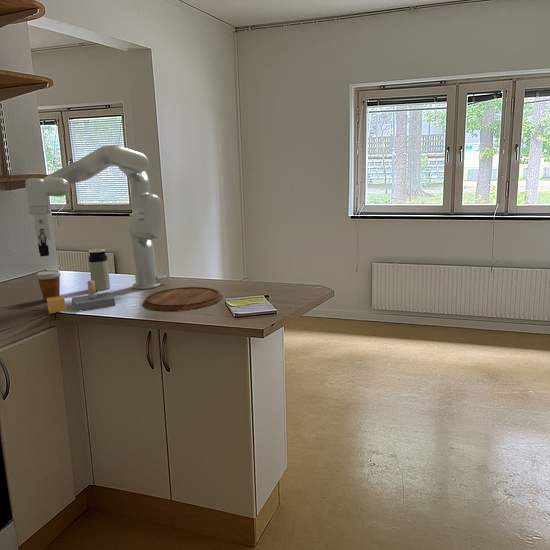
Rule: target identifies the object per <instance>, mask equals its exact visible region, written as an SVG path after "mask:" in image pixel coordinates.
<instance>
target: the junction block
mask: <svg viewBox="0 0 550 550" xmlns="http://www.w3.org/2000/svg"><path fill="white" fill-rule="evenodd" d="M86 282H87V290H88V294H87V295H81V296H74V297H71V305H72V307H73V306H74V307H73V309H74V310H75V312H81V311H80V310H83V311H87V309H89V310H94V308H96V309H100V308H101V309H102V308H107V307H108V308H109V307H115V306H116V299H115V297H114V296H113V295H112V293H110V292H109V291H108V292H103V293H98V292H97V291H96V288H95V281H94V280H91V279H90V280H87V281H86Z"/></svg>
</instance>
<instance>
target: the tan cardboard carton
mask: <svg viewBox="0 0 550 550" xmlns="http://www.w3.org/2000/svg"><path fill="white" fill-rule="evenodd" d="M46 304H47V310H48V313H49V315H50V314H55V313H56V312H58V313H61V312H60V311H64V312H67V309H66V307H67V306H66V301H65V297H64V295H61V296H58V297H51V298H47V301H46ZM56 314H57V313H56Z"/></svg>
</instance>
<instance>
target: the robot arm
mask: <svg viewBox="0 0 550 550" xmlns="http://www.w3.org/2000/svg"><path fill="white" fill-rule="evenodd" d="M149 166H150V162H149V159H148V157H147V156H146V155H145V154H144V153H142V152H139V151H136V150H133V149H130V148H127V147H125V146H120V145H117V144H116V145H115V144H113V145H111V144H110V145H103V146H101V147H98V148H97V149H95V150H93V151H91V152H89V153H88V154H87V155H85V156H83V157H82V158H80V159H78V160H76V161H74V162H71V163H69V164H68V165H64V167H63V166H62V167H61V168H59V169H57V170H56V171H54V172H51V173H50V174H48V175H46V176H45V177H44V178H37V177H36V178H28V179H26V180H25V192H26V200H27V209H28V215H29V216H32V222H33V223H32V224H33V230H34V234H35V238H36V240H37V242H38V243H37V246H38V253H39V256H40V257H48V256H50V250H49V245H48V241H47V240H49V241H50V240H51V233H50V223H49V217H48V215H51V211H50V210H51V209H50V201H49V197H56V198H57V197H58V198H61V197H64V196H66V195H68V193H69V192H70V189H71V187H70V186H71V185H73V184H76V183H81V182H86V181H88V180H89V179H90V180H91V179H92V178H94V177H96V176H97V175H99V174H100V173H102V172H103V171H105V170H107V169H108V168H109V167H118V169H119V170H120V171H121V172H122V173H124V175H126V177H127V179H128V181H129V184H130V185H129V187H130V207H131V210H132V211H131V212H133V213H134V214H136V215H141V216H142V215H143V217H136V218H133V219H132V220H131V221H130V222H129V224H128V227H127V228H128V234H129V238H130V243H131V249H132V258H133V259H132V260H133V268H134V270H133V271H134V281H135V283H133V284H132V288H133V289H138V290H146V289H147V290H148V289H153V288H158V287H159V286H160V285H161V281H166V280H168V276H167V275H157V268H156V257H155V246H154V243H153V241H156V240H158V239H159V238H161V236H162V234H163V233H164V232H163V231H164V206H163V202H162V199H161V198H160V197H159V196H158V195H157V194H154V193H151V186H150V185H151V184H150V178H149V176H148V174H147V170H148V169H149Z"/></svg>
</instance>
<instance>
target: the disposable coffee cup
mask: <svg viewBox="0 0 550 550" xmlns="http://www.w3.org/2000/svg"><path fill="white" fill-rule="evenodd" d="M61 274H62V273H60V270H58V269H57V270H54V269H53V270H44V271H39V272H37V274H36V278H37V280H38V284H39V287H40V291H41V294H42V295H41V296H42V299H43V301H44V302H47V298H51V297H58V296H60V295H61V294H60V293H61V292H60V288H61V287H60V286H61V285H60V282H61V281H60V280H61Z"/></svg>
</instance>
